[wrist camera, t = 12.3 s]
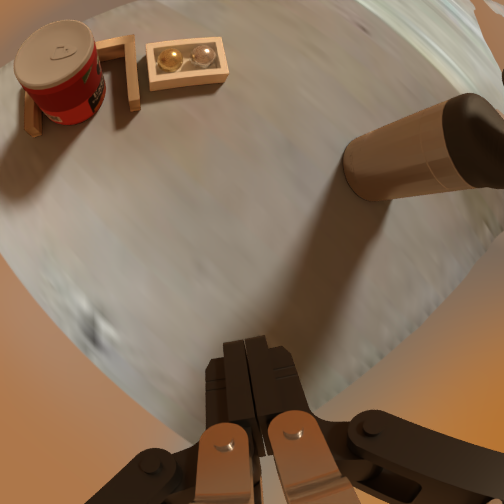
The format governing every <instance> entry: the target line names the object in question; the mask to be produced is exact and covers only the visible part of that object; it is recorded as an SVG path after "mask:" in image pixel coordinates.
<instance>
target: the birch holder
mask: <svg viewBox="0 0 504 504" xmlns="http://www.w3.org/2000/svg"><path fill="white" fill-rule="evenodd" d="M95 44H96V49H97V53H98V57H99V61H100V62H102V61H107V60H111V59H116V58H121V57H125V61H126V75H127V87H128V98H129V105H130V111H131V112H132V111H137V110H141V106H140V95H139V86H138V76H137V65H136V52H135V38H134V35H128V36H122V37H117V38H112V39H107V40H103V41H98V42H95ZM24 130H25V131H26V132H27V133H29V134H30V135H31V136H32V137H33V138H34V137H37V136H40V135H42V110H41V109H40V107H39V106H38V105H37V104H36V103H35V102H34V100H33V99H32V98H31V97H30V96H29V94H28V93H27V92H26V91H25V109H24Z"/></svg>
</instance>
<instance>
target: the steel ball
mask: <svg viewBox="0 0 504 504" xmlns="http://www.w3.org/2000/svg"><path fill="white" fill-rule="evenodd" d="M215 59H216V54H215V52H214V50H213V49H212V48H211V47H209V46H206V45H201V46H198V47H196V48H194V49H193V50H192V52H191V54H190V61H191V63H192V65H193V66H194V67H196V68H199V69H205V68H208V67H210V66H211V65H212V64H213V63H214V62H215Z"/></svg>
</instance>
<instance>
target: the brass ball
mask: <svg viewBox="0 0 504 504" xmlns="http://www.w3.org/2000/svg"><path fill="white" fill-rule="evenodd" d="M157 64H158V66H159V68H160V69H161V70H162V71H164V72H168V73H170V72H175V71H177V70H178V69H179V68H180V67H181V66H182V64H183V55H182V53H181V52H180V51H178V50H177V49H173V48H170V49H166V50H164V51H162V52H161V53H160V55H159V56H158V59H157Z"/></svg>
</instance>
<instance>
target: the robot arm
mask: <svg viewBox="0 0 504 504" xmlns="http://www.w3.org/2000/svg"><path fill="white" fill-rule="evenodd" d="M502 82H503V85H504V69H503V72H502ZM343 167H344V173H345V176H346V179H347V181H348V183H349V185H350V187H351V188H352V189H353V191H354V192H355V193H356V194H357V195H358V196H360V197H361V198H363V199H365V200H368V201H374V202H375V201H382V200H390V199H398V198H405V197H413V196H420V195H428V194H436V193H443V192H452V191H458V190H467V189H475V188H484V187H489V188H494V189H504V120H503V118H502V117H501V116H500V115H499V113H498V112H497V111H496V110H495V109H494V107H493V106H492V105H491V104H490V103H489V102H488V101H487V100H485V99H484V98H483V97H481V96H479V95H477V94H474V93H465V94H462V95H459V96H456V97H454V98H451V99H449V100H446V101H444V102H441V103H439V104H436V105H434V106H431V107H429V108H426V109H424V110H421V111H419V112H416V113H414V114H412V115H409V116H407V117H404V118H402V119H399V120H397V121H395V122H392V123H390V124H388V125H385V126H383V127H381V128H378V129H376V130H374V131H371V132H369V133H367V134H364V135H362V136H360V137H358V138H355V139H354V140H352V141H351V142H350V143H349V145H348V146H347V148H346V150H345V153H344V157H343ZM245 344H246V349H245V345H244V341H243V339H242V340H237V341H232V342H226V343H223V352H224V357H222V358H216V359H211V361H210V362H209V364H208V366H207V368H206V370H205V381H206V430H205V432H204V433H203V434H202V436H201V438H200V440H199V442H197V443H196V444H195V445H193V446H192V447H190V448H187V449H185V450H182V451H180V452H177V453H174V454H171V453H169V452H168V451H166V450H164V449H160V448H150V449H146V450H144V451H142V452H140V453H139V454H138V455H136V456H135V457H134V458H133V459H132V460H131V461H130V462H129V463H128V464H127V465H126V466H125V467H124V468H123V469H122V470H121V471H120V472H119V473H117V474H116V475H115V476H114V477H113V478H112V479H111V480H110V481H109V482H108V483H107V484H106V485H105V486H103V487H102V488H101V489H100V490H99V491H98V492H97V493H96V494H95V495H93V497H91V498H90V499H89V500H88V501H87V502H86V503H85V504H263V491H262V477H261V465H260V459H259V457H263V456H266V454H265V449H264V443H265V446H266V450H267V454H268V455H273V456H274V461H275V465H276V469H277V473H278V476H279V480H280V483H281V486H282V489H283V492H284V496H285V499H286V502H287V504H361V503H360V501H359V499H358V497H357V495H356V492H355V491H354V488H353V487H356V488H358V489H360V490H362V491H364V492H366V493H368V494H370V495H372V496H374V497H376V498H378V499H380V500H383V501H385V502H387V503H389V504H504V453H501V452H497V451H493V450H491V449H487V448H484V447H480V446H477V445H474V444H471V443H468V442H465V441H462V440H459V439H456V438H453V437H450V436H447V435H444V434H442V433H439V432H436V431H433V430H430V429H427V428H425V427H422V426H420V425H417V424H414V423H412V422H409V421H407V420H404V419H402V418H399V417H396V416H394V415H392V414H389V413H386V412H384V411H381V410H368V411H364V412H362V413H359V414H358V415H356V416H355V417H354V418H353V419H352V420H351V422H330V421H325V420H322V419H320V418H318V417H317V416H315V415H314V414H313V413H312V412H311V410H310V409H309V406H308V403H307V400H306V397H305V394H304V391H303V388H302V385H301V382H300V379H299V376H298V374H297V371H296V368H295V365H294V362H293V359H292V356H291V354H290V353H289V352H288V351H287V350H286V349H285V348H284V347H283V346H279V347H275V348H270V349H268V346H267V342H266V338H265V335H263V336H258V337H253V338H247V339H245ZM246 350H247V354H246ZM247 356H248V358H247ZM262 435H263V438H262ZM263 439H264V443H263Z"/></svg>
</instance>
